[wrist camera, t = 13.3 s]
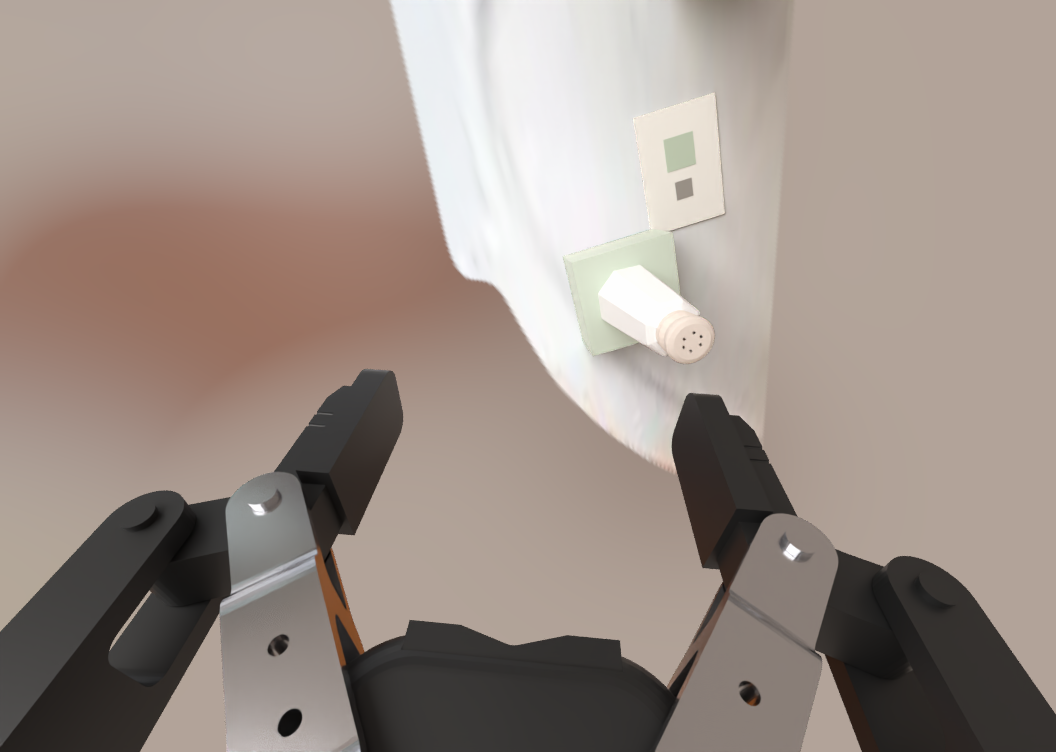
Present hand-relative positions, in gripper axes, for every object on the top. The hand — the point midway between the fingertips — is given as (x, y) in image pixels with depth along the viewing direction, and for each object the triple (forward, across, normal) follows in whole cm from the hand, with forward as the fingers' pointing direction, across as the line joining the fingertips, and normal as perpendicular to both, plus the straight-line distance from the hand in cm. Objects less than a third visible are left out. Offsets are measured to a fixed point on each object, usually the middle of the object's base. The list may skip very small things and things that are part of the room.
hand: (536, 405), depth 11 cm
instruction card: (+29, -10, -1) cm, 31 cm away
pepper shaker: (+22, -6, +7) cm, 24 cm away
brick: (+26, -6, +8) cm, 28 cm away
